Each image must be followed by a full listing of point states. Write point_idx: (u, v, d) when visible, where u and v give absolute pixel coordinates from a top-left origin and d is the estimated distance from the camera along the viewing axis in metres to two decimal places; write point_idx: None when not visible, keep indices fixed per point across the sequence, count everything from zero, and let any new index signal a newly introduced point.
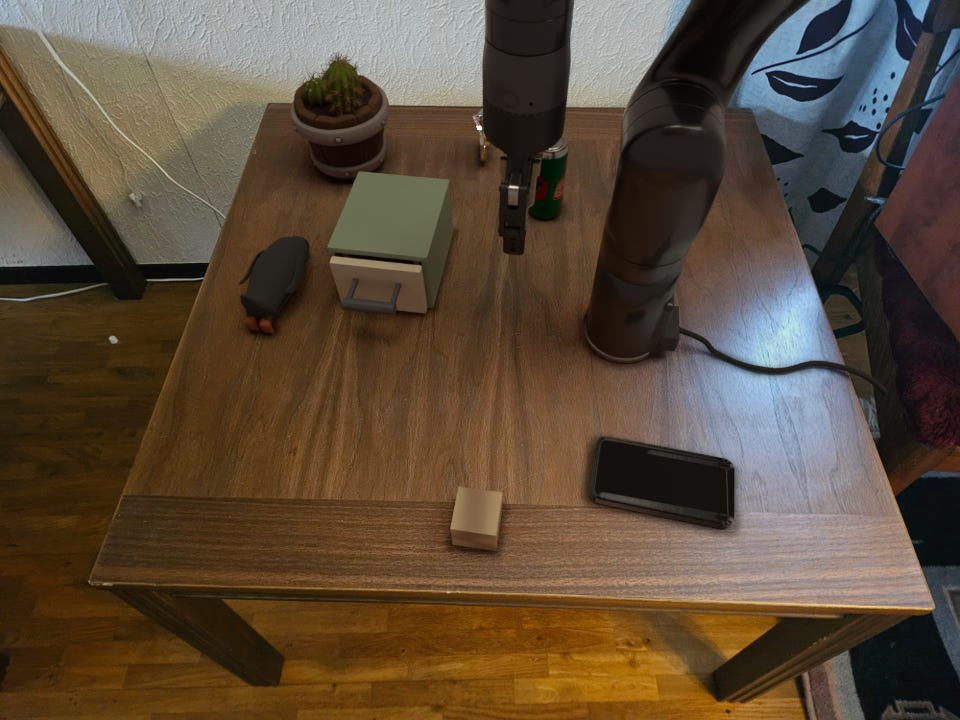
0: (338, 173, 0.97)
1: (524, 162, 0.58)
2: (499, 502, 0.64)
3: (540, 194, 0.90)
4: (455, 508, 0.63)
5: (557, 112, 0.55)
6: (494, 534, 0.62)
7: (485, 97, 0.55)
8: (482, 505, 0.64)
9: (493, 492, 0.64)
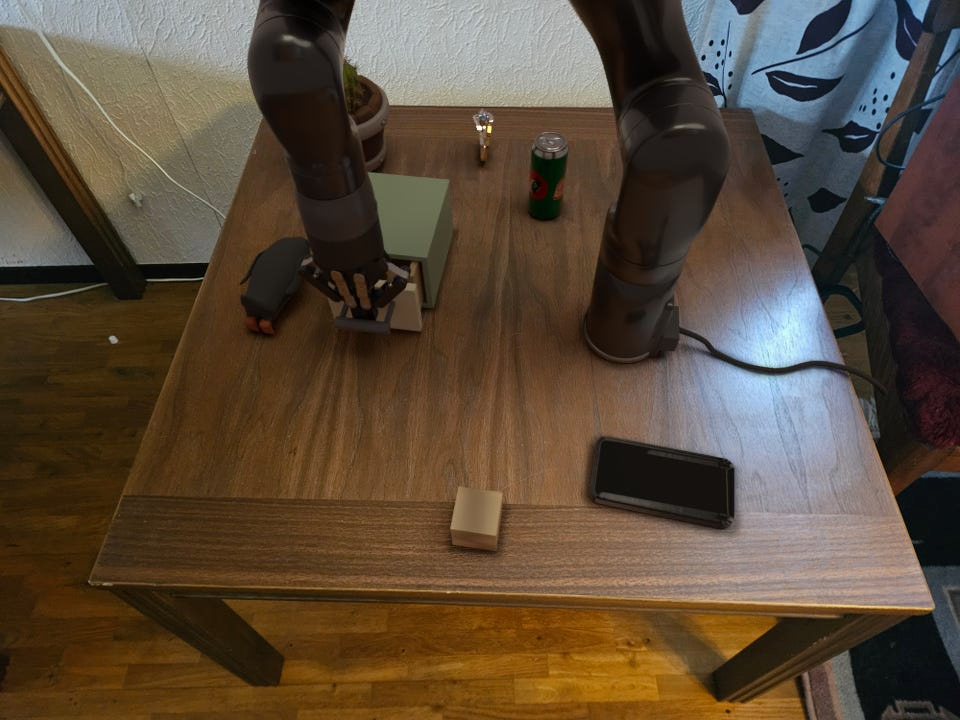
0: None
1: None
2: (499, 502, 0.64)
3: (540, 194, 0.90)
4: (455, 508, 0.63)
5: (311, 239, 0.63)
6: (494, 534, 0.62)
7: None
8: (482, 505, 0.64)
9: (493, 492, 0.64)
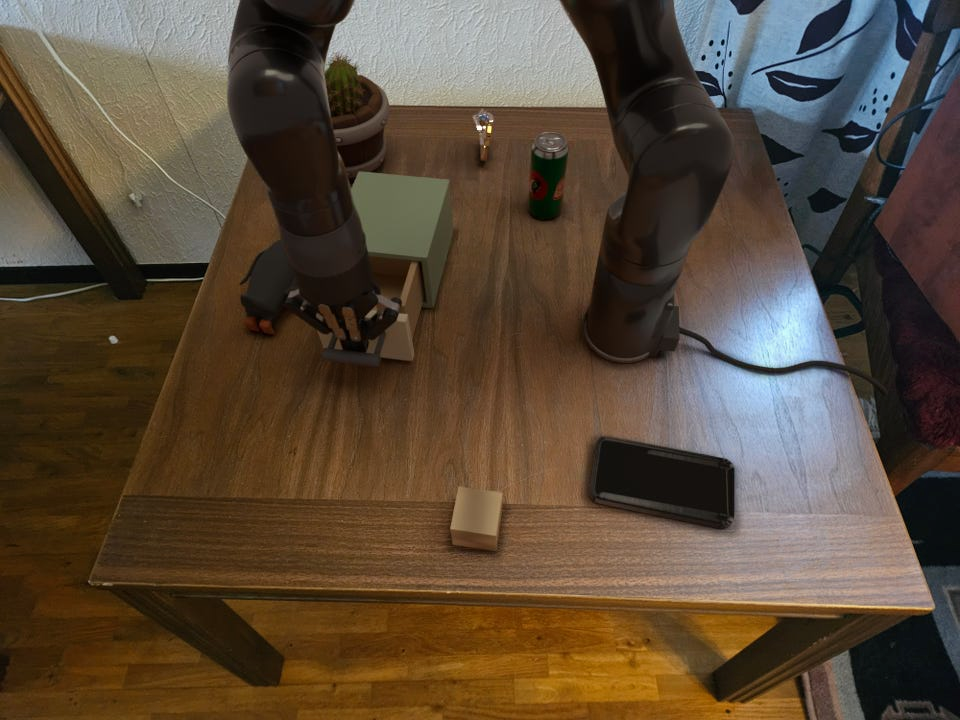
0: None
1: None
2: (499, 502, 0.64)
3: (540, 194, 0.90)
4: (455, 508, 0.63)
5: (297, 274, 0.60)
6: (494, 534, 0.62)
7: None
8: (482, 505, 0.64)
9: (493, 492, 0.64)
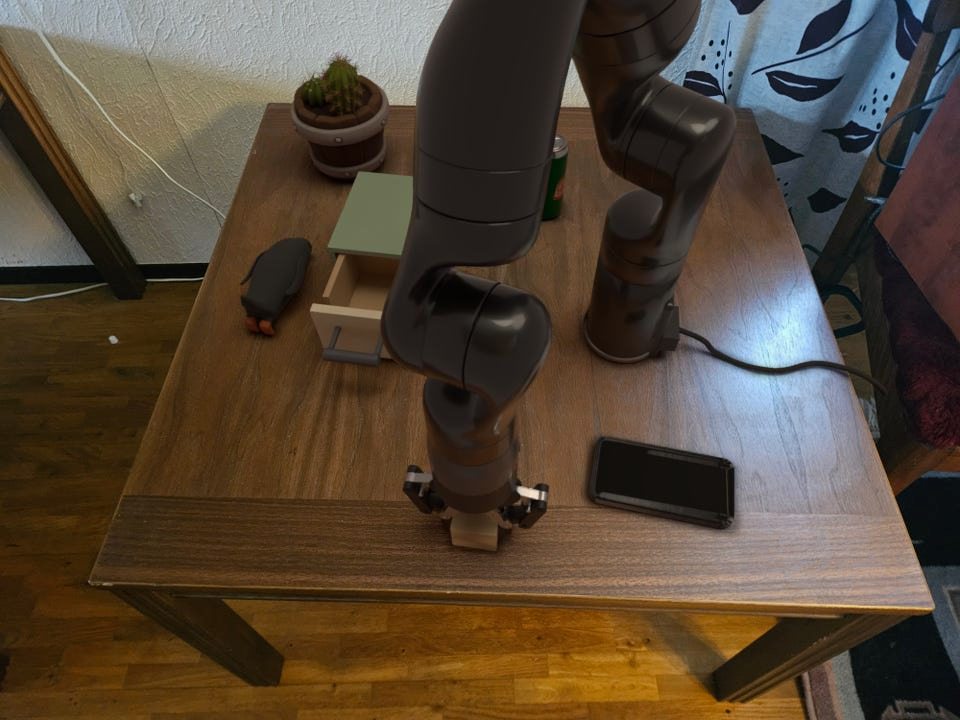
0: (338, 173, 0.97)
1: (433, 478, 0.57)
2: None
3: None
4: None
5: (442, 487, 0.52)
6: (494, 534, 0.62)
7: None
8: None
9: None
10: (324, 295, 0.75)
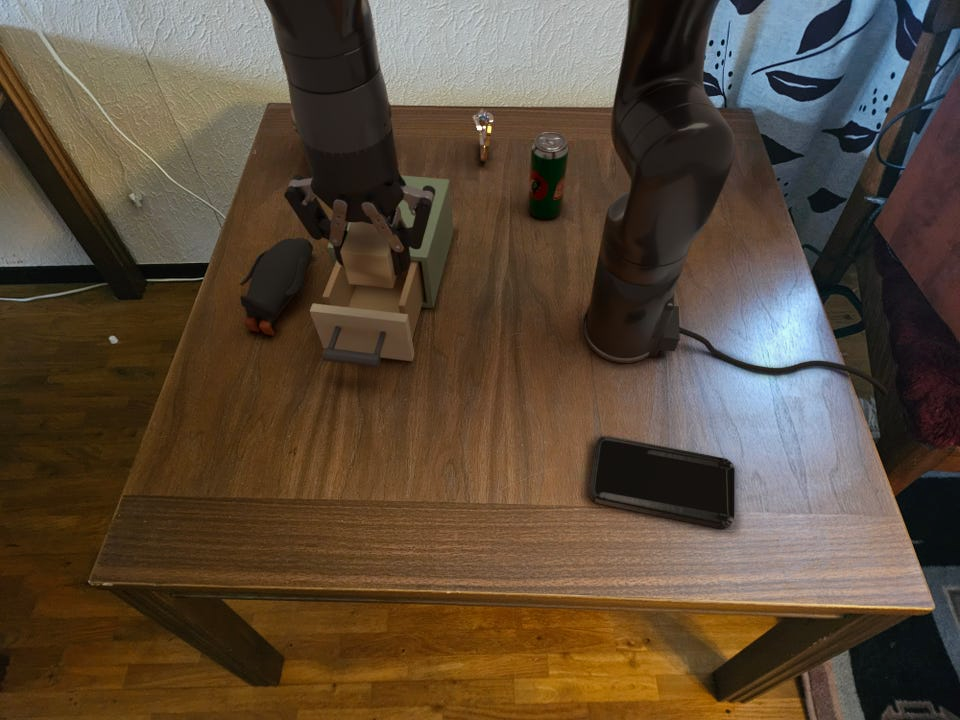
0: None
1: None
2: None
3: (540, 194, 0.90)
4: (347, 235, 0.62)
5: (311, 153, 0.51)
6: (385, 255, 0.60)
7: None
8: (375, 233, 0.62)
9: None
10: (324, 295, 0.75)
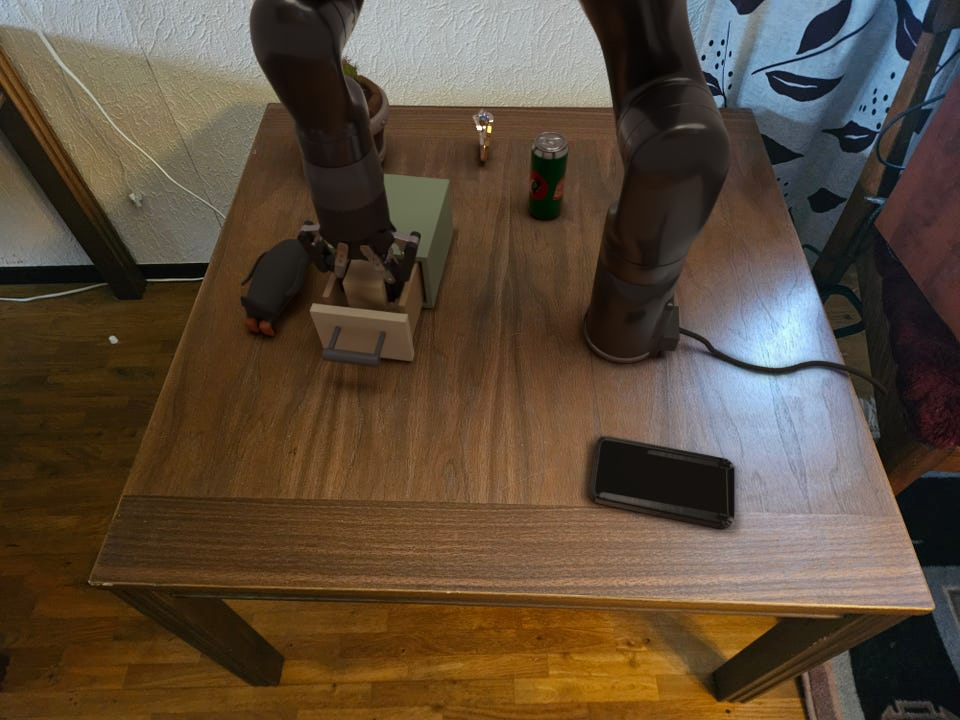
0: None
1: None
2: None
3: (540, 194, 0.90)
4: (348, 269, 0.74)
5: (319, 209, 0.63)
6: (379, 286, 0.73)
7: None
8: (372, 267, 0.75)
9: None
10: (324, 295, 0.75)
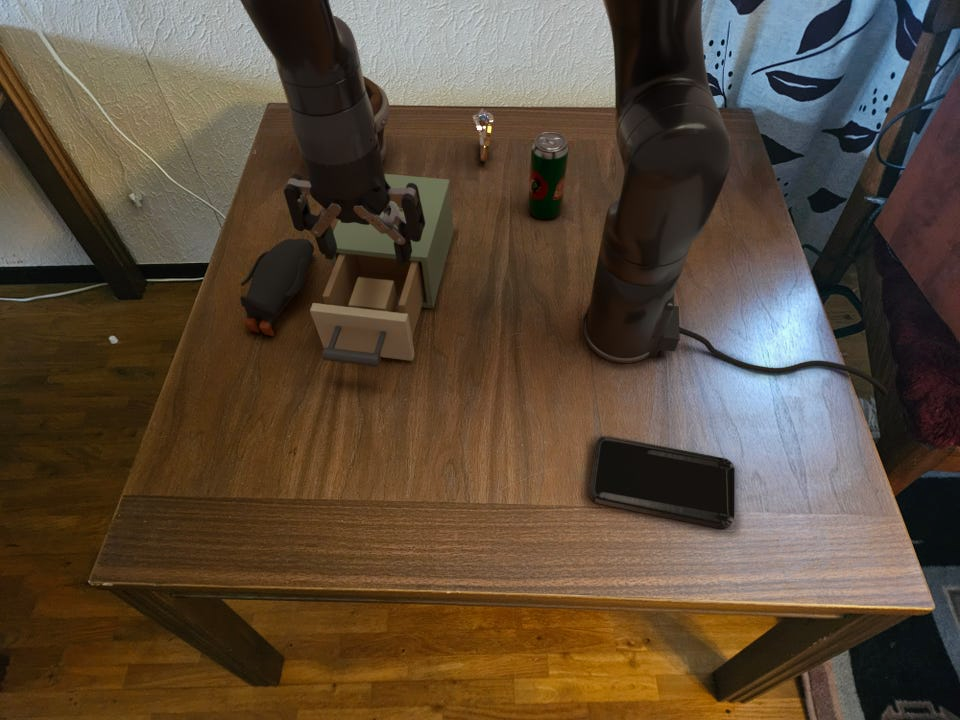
0: None
1: None
2: (390, 287, 0.78)
3: (540, 194, 0.90)
4: (353, 291, 0.78)
5: (308, 164, 0.60)
6: (383, 307, 0.76)
7: None
8: (376, 289, 0.78)
9: (386, 280, 0.79)
10: (324, 295, 0.75)
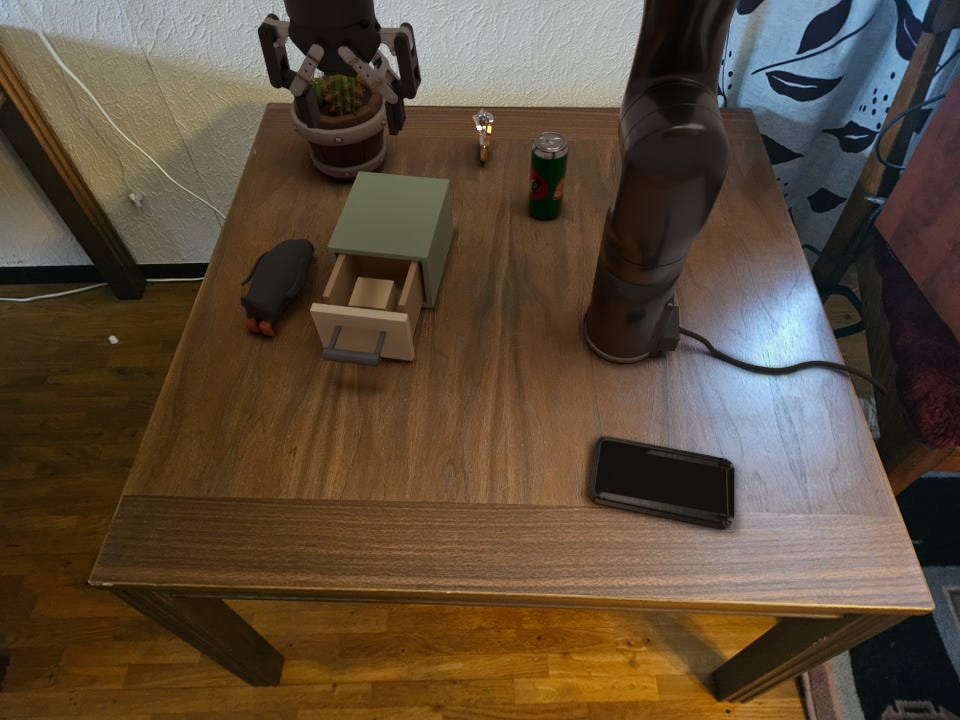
0: (338, 173, 0.97)
1: None
2: (390, 287, 0.78)
3: (540, 194, 0.90)
4: (353, 291, 0.78)
5: None
6: (383, 307, 0.76)
7: None
8: (376, 289, 0.78)
9: (386, 280, 0.79)
10: (324, 295, 0.75)
